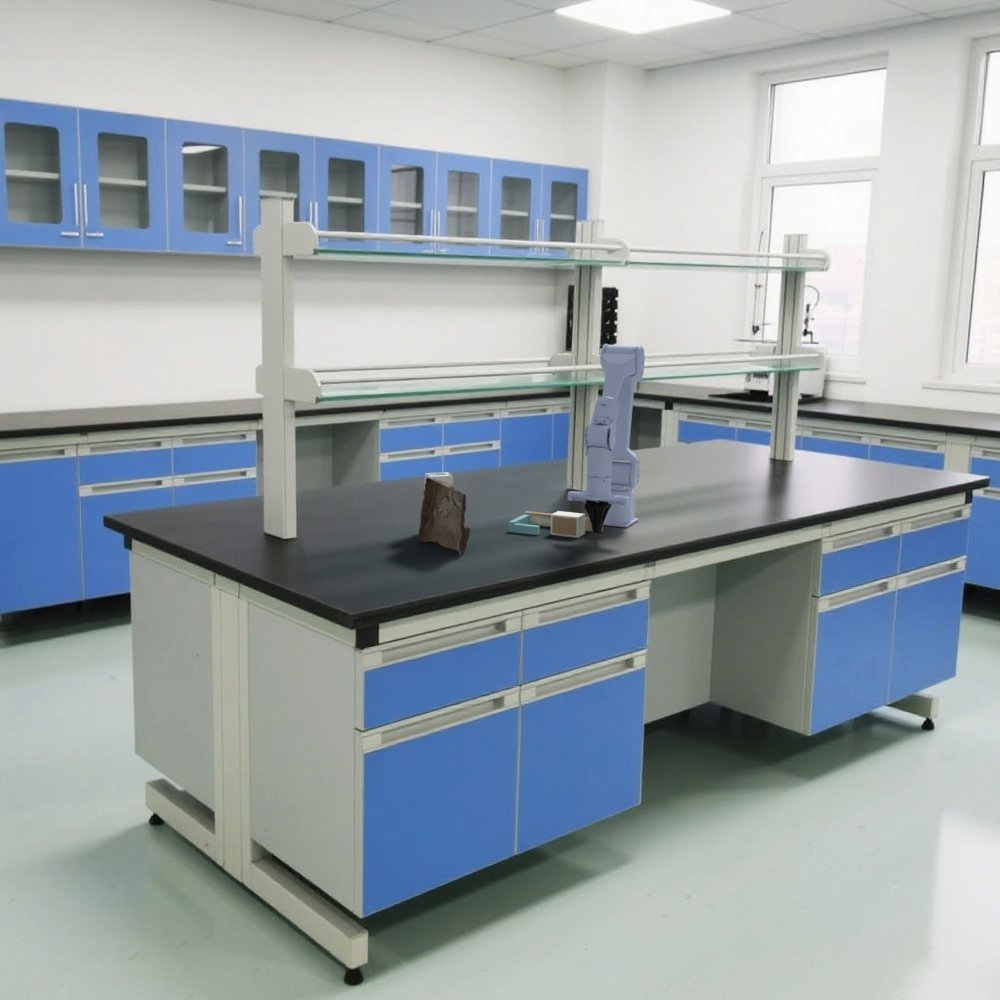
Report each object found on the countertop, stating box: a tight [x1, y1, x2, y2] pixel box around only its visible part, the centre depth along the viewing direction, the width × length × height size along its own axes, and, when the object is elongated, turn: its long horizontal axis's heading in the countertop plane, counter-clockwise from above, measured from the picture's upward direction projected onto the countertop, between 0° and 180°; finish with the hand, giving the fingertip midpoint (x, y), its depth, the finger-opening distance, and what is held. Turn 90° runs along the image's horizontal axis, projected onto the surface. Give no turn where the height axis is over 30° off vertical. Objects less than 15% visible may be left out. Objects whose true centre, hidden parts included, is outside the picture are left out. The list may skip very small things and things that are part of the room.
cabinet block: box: [550, 510, 586, 539], centre depth 263 cm, size 5×7×5 cm
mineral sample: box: [418, 478, 471, 556], centre depth 247 cm, size 17×4×15 cm, turn 37°
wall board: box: [524, 510, 604, 533], centre depth 270 cm, size 1×20×3 cm, turn 65°
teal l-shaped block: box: [508, 513, 541, 536], centre depth 268 cm, size 10×8×2 cm
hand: (597, 533), depth 259 cm, fingers closed
